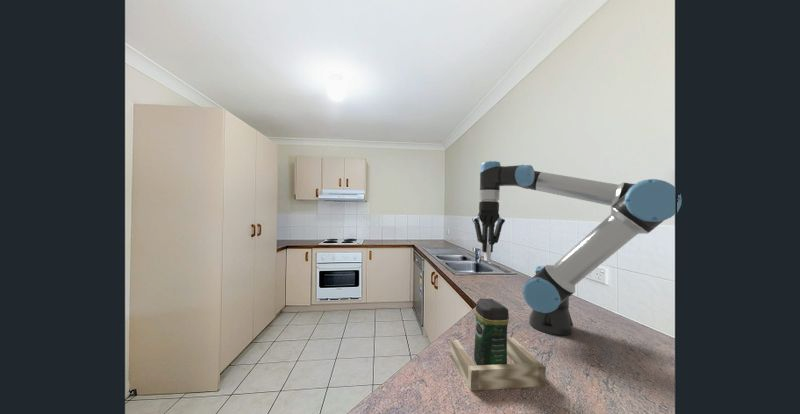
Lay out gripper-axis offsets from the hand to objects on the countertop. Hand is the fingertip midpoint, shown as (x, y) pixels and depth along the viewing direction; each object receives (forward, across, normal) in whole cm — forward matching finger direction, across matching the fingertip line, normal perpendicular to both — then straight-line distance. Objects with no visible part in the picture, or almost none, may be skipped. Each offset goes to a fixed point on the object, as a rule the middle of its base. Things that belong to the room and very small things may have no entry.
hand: (487, 260), depth 113 cm
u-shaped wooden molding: (+24, +12, +32) cm, 42 cm away
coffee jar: (+25, +12, +30) cm, 41 cm away
